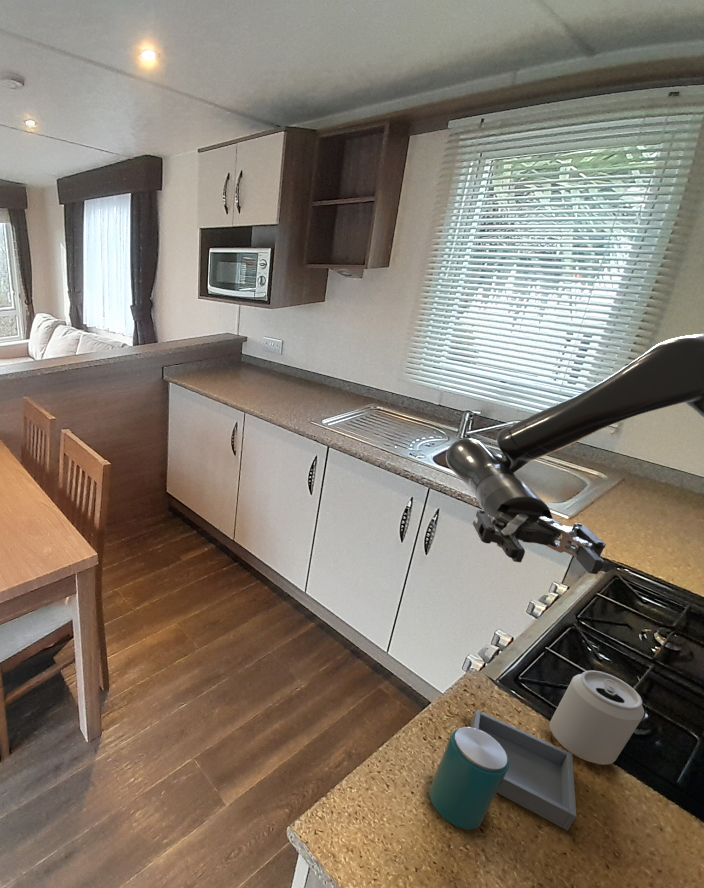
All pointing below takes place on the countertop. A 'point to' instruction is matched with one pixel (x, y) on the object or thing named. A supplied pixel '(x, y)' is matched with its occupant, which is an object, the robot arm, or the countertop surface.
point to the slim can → (468, 777)
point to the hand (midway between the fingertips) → (557, 562)
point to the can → (597, 716)
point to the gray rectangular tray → (533, 771)
